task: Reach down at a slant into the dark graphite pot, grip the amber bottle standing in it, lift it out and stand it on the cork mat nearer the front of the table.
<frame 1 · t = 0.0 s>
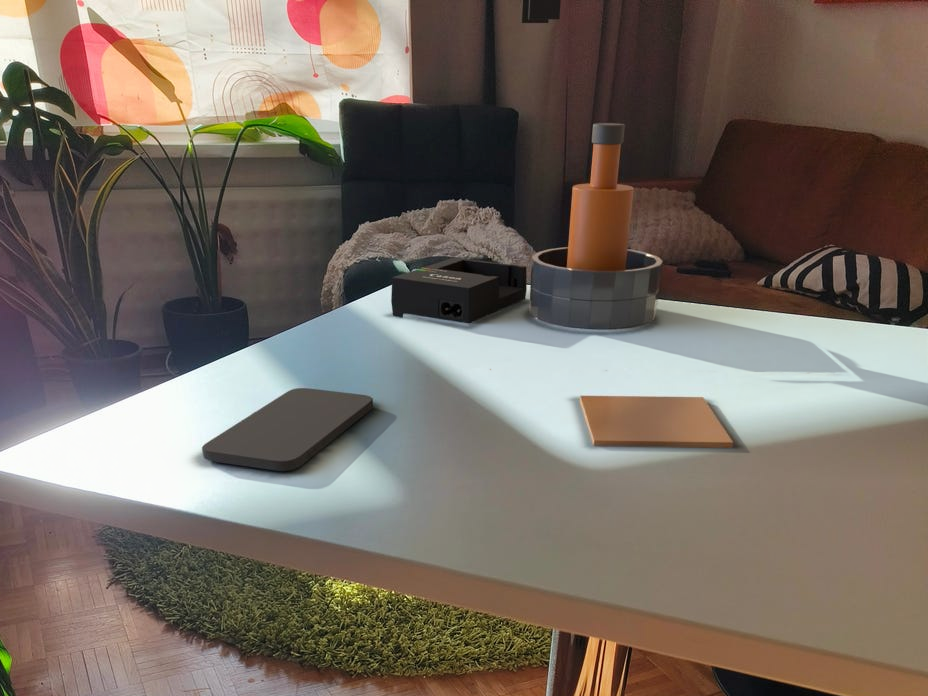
hand: (539, 21, 85), 26 cm above the table, tool pointing down, fingers open, 13 cm apart
cork mat: (651, 423, 68), on the table
bottle: (591, 312, 95), point 1 cm above the table, touching pot
phone: (294, 433, 66), on the table
pot: (591, 318, 95), on the table
battery charger: (460, 312, 98), on the table
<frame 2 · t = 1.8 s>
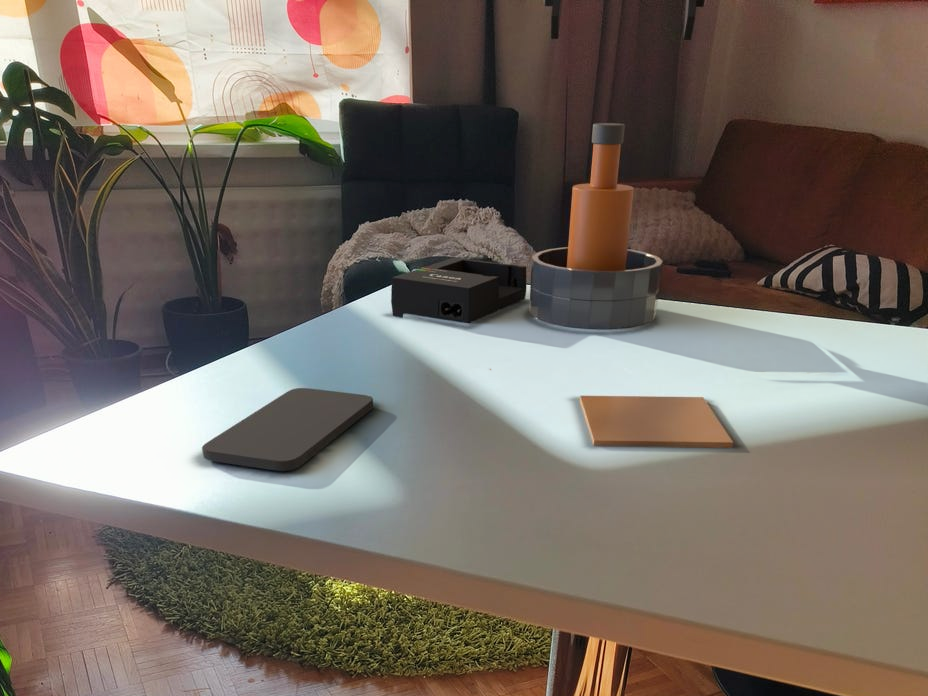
hand: (621, 28, 91), 26 cm above the table, tool tilted 45°, fingers open, 13 cm apart
nothing on the table moved.
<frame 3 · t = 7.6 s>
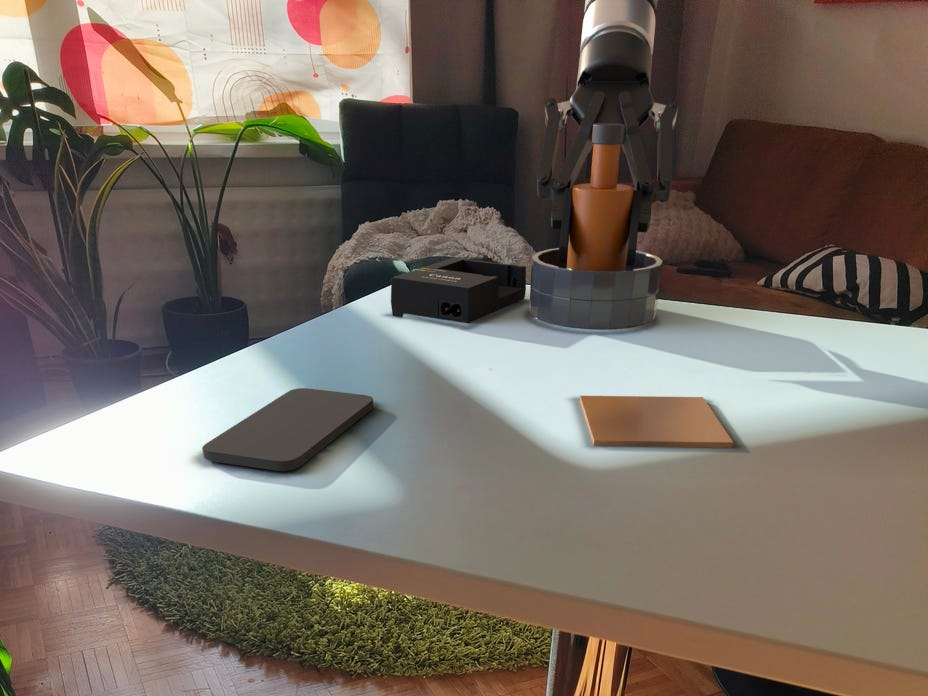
hand: (596, 255, 88), 7 cm above the table, tool tilted 45°, fingers closed on bottle, 6 cm apart
bottle: (591, 312, 95), point 1 cm above the table, touching gripper, pot
everything else where it was.
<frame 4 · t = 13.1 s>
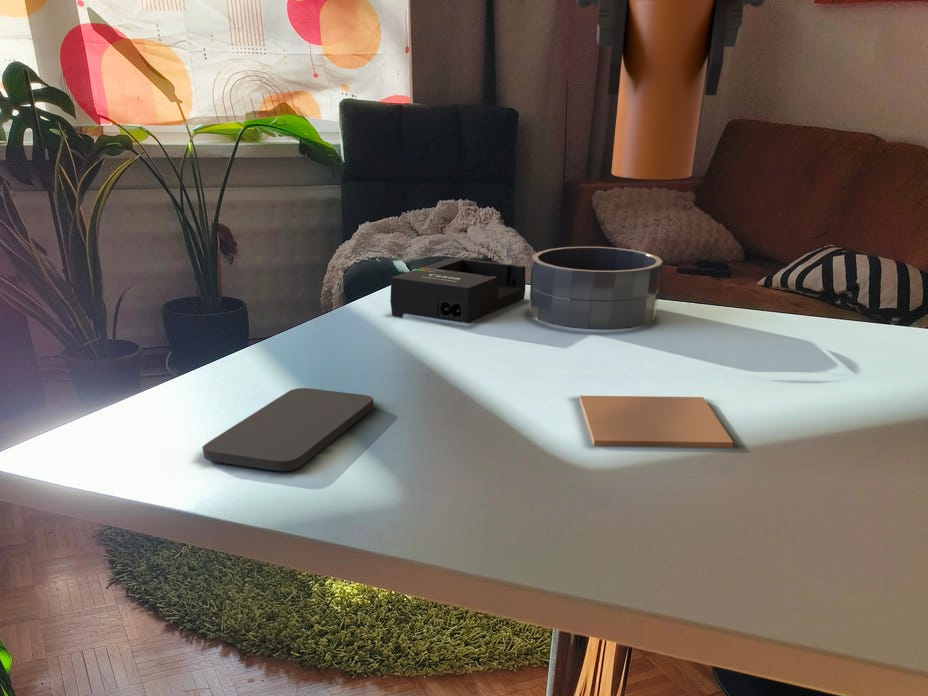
hand: (663, 78, 61), 22 cm above the table, tool tilted 45°, fingers closed on bottle, 6 cm apart
bottle: (651, 174, 68), point 16 cm above the table, touching gripper
everything else where it was.
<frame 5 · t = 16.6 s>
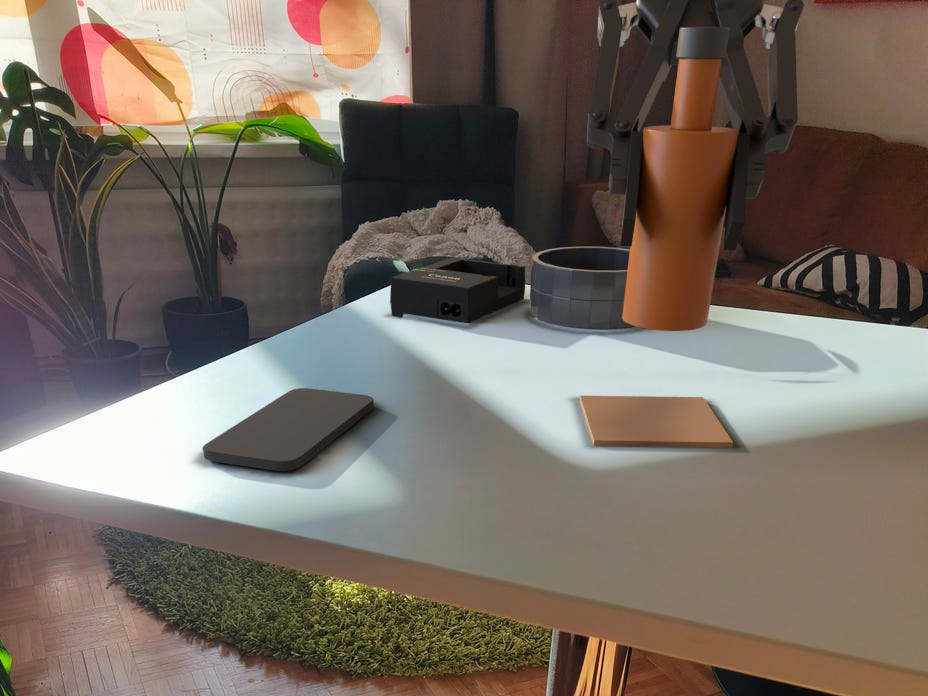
hand: (680, 234, 58), 14 cm above the table, tool tilted 45°, fingers closed on bottle, 6 cm apart
bottle: (664, 320, 64), point 8 cm above the table, touching gripper
everything else where it was.
when the fingers open (7 cm above the table, at t = 18.9 s): bottle stays where it is, resting on cork mat.
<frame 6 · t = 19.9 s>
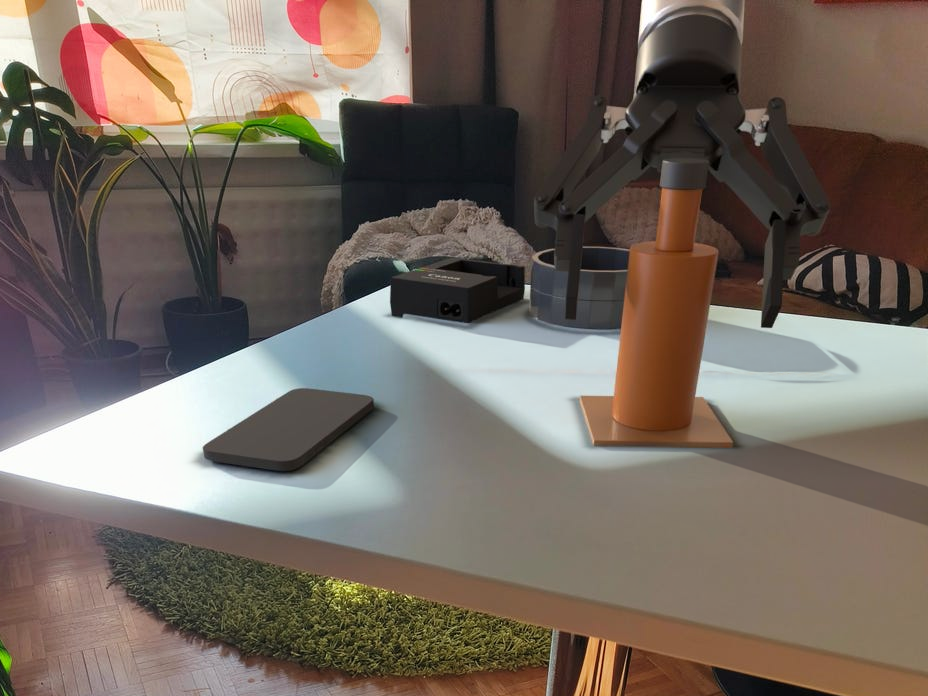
hand: (669, 313, 62), 9 cm above the table, tool tilted 45°, fingers open, 13 cm apart
bottle: (651, 417, 68), resting on cork mat
everything else where it was.
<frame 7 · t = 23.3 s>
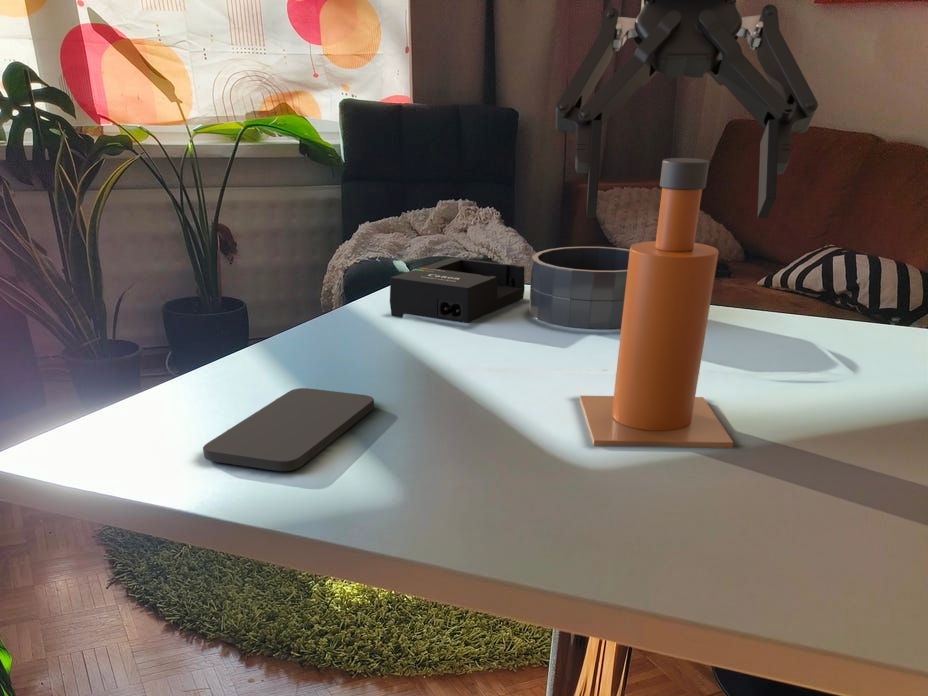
hand: (678, 208, 71), 13 cm above the table, tool tilted 40°, fingers open, 13 cm apart
nothing on the table moved.
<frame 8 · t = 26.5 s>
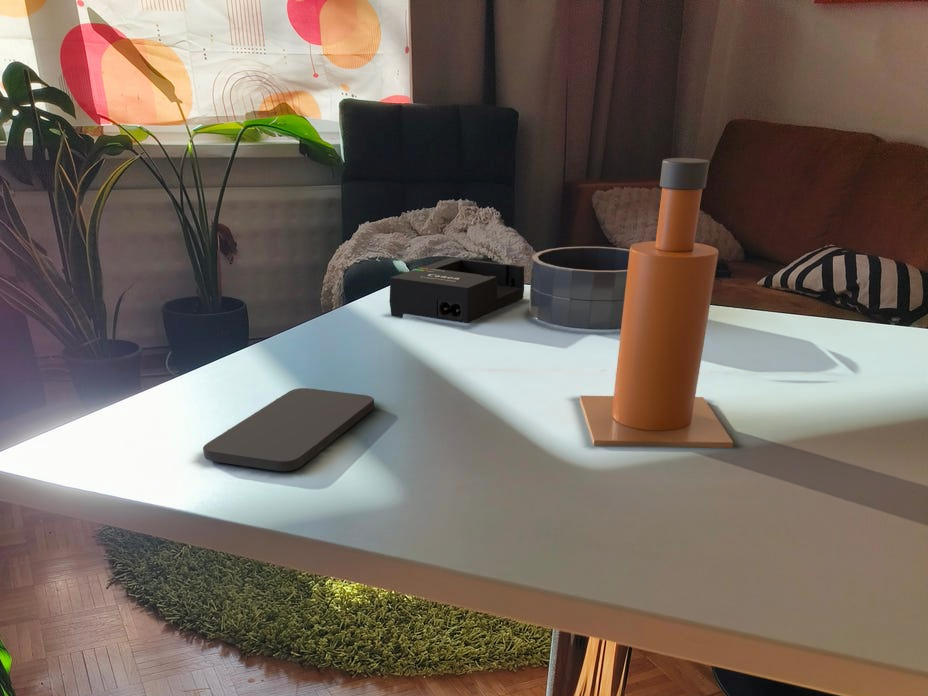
nothing on the table moved.
at the end: bottle inside the target area on the cork mat (0.1 cm from its centre), point 0.5 cm above the cork mat's base; bottle tilted 0°; the gripper is holding nothing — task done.
